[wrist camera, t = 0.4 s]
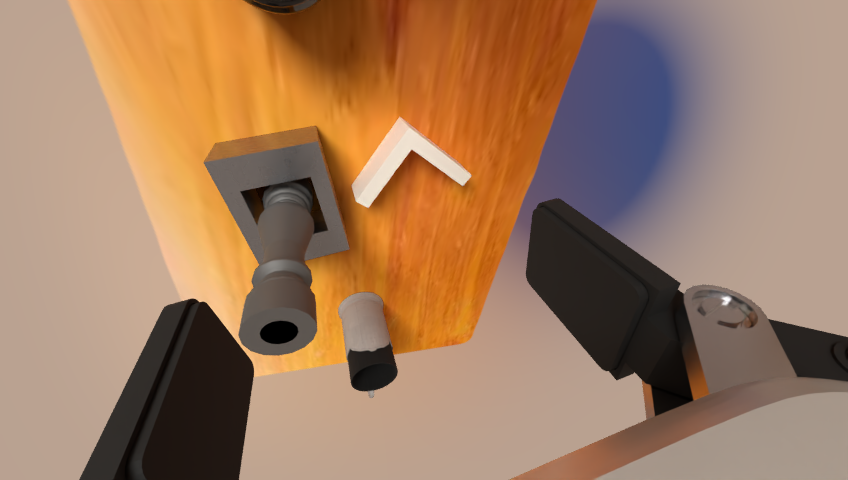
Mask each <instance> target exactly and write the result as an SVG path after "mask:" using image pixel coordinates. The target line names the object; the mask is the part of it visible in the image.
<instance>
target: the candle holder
mask: <svg viewBox="0 0 848 480" xmlns="http://www.w3.org/2000/svg"><path fill="white" fill-rule="evenodd" d="M262 200H263V206H264V211H263V212H262V213H261V214H260V217H259V221H258V225H257V228H258V232H259V235H260V239H261V243H262V246H263V250H264V259H263V262H262V263H261V264H260V265H259V266H258V267H257V268H256V269H255V271H254V274H253V278H252V284H253V287H254V288H253V289H252V290H251V292H250V293H249V294H248V295H247V297H246V301H245V304H244V309H243V314H242V319H241V324H240V330H239V338H240V340H241V343H242V344H243V345H244V346H245V347H246V348H248V349H249V350H250V351H253V352H256V353H259V354H263V355H283V354H288V353H293V352H295V351H297V350H299V349H302V348H304V347H305V346H306V345H308V344H309V343H310V342H311V341H312V340H313V339H314V336H315V334H316V332H317V318H316V301H315V295H314V293H313V292H312V291H311V289H310V286H311V283H312V275H311V270H310V269H309V268H308V267H307V265H306V264H305V253H306V250H307V248H308V245H309V243H310V240H311V238H312V235H313V232H314V222H313V218H312V217H311V215H310V213H311V210H312V206H313V193H312V186H311V184H310V182H309V181H308V179H307V178H303V179H298V180H293V181H288V182H283V183H278V184H273V185H269V186H265V189H264V193H263V198H262Z"/></svg>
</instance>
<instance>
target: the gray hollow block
mask: <svg viewBox="0 0 848 480" xmlns="http://www.w3.org/2000/svg"><path fill="white" fill-rule="evenodd" d="M204 164H205V166H206V168H207V170H208V171H209V173H210V175H211V177H212V179H213V181H214V182H215V184H216V186H217V188H218V190H219V192H220V193H221V195H222V197H223V199H224V201H225V203H226V204H227V206H228V208H229V210H230V212H231V214H232V215H233V217H234V219H235V221H236V223H237V225H238V226H239V228H240V230H241V232H242V234H243V236H244V237H245V239H246V241H247V243H248V245H249V247H250V248H251V250H252V252H253V254H254V256H255V258H256V259H257V261H258V263H259V265H260V264H261V263H262V262H263V259H264V250H263V246H262V243H261V239H260V235H259V232H258V228H257V225H258V221H259V217H260V214H261V213H262V212H263V211H264V206H263V204H262V202H261V200H260V198H259V195H258V193H257V191H256V189H255V188H259V187H264V186H269V185H273V184H278V183H283V182H288V181H293V180H298V179H303V178H308V177H311V180H312V183H313V186H314V189H315V192H316V195H317V198H318V201H319V204H320V207H321V210H317V211H313V212H311V213H310V215H311V217H312V218H313V222H314V232H313V235H312V238H311V240H310V243H309V245H308V248H307V250H306V253H305V260H309V259H313V258H317V257H321V256H325V255H329V254H333V253H337V252H341V251H345V250H349V249H350V248H349V243H348V238H347V233H346V228H345V224H344V220H343V217H342V214H341V210H340V207H339V203H338V200H337V196H336V193H335V189H334V186H333V183H332V179H331V176H330V172H329V169H328V165H327V162H326V158H325V155H324V152H323V148H322V145H321V141H320V138H319V134H318V131H317V127H316V126H312V127H306V128H301V129H295V130H289V131H284V132H278V133H272V134H266V135H261V136H255V137H249V138H244V139H238V140H232V141H226V142H221V143H215V145H214V146H213V148H212V150H211V151H210V153H209V154H208V156H207V158H206V159H205V161H204Z"/></svg>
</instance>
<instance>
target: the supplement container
mask: <svg viewBox="0 0 848 480" xmlns="http://www.w3.org/2000/svg"><path fill="white" fill-rule="evenodd" d="M243 1H245V2H247V3H248V4H250V5H252V6H254V7H256V8H258V9H261V10H263V11H266V12H270V13H274V14H284V15H288V14H296V13H300V12H303V11H306V10H308V9H310V8H311V7H313V6H314V5H316V4H317V3H318V2H319V1H320V0H243Z"/></svg>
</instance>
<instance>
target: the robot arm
mask: <svg viewBox="0 0 848 480" xmlns="http://www.w3.org/2000/svg"><path fill="white" fill-rule="evenodd" d="M526 278H527V281H528V282H529V284H530V285H531V287H532V288H533V289H534V290H535V291H536V292H537V294H538V295H539V296H540V297H541V298H542V300H543V301H544V302H545V303H546V304H547V305H548V307H549V308H550V309H551V310H552V311H553V312H554V314H555V315H556V316H557V317H558V318H559V319H560V321H561V322H562V323H563V324H564V325H565V326H566V328H567V329H568V330H569V331H570V332H571V333H572V335H573V336H574V337H575V338H576V339H577V341H578V342H579V343H580V344H581V345H582V347H583V348H584V349H585V350H586V351H587V352H588V354H589V355H590V356H591V357H592V358H593V360H594V361H595V362H596V363H597V364H598V365H599V366H600V367H601V368H602V369H603V370H605V371H609V372H610V373H611V374H612V375H613V377H614V378H615V379H616V380H619V379H621V378H624V377H626V376H629V375H631V374H633V373H634V372H635V373H636V374H637V375H638V376H639V377H640V378H641V379H642V384H643V393H644V401H645V410H646V418H647V420H645V421H643V422H641V423H638V424H636V425H634V426H632V427H629V428H627V429H625V430H622V431H620V432H618V433H616V434H613V435H611V436H608V437H606V438H604V439H602V440H599V441H597V442H595V443H592V444H590V445H588V446H585V447H583V448H581V449H579V450H576V451H574V452H572V453H569V454H567V455H565V456H563V457H560V458H558V459H555V460H553V461H551V462H549V463H546V464H544V465H542V466H539V467H537V468H535V469H533V470H530V471H528V472H526V473H524V474H521V475H519V476H517V477H514V478H512V479H510V480H848V337H844V336H840V335H836V334H831V333H827V332H822V331H818V330H814V329H809V328H805V327H800V326H796V325H792V324H787V323H783V322H779V321H774V320H770V319H768V318H767V316H766V315H765V314H764V312H763V311H762V310H761V308H760V307H759V306H757V305H756V304H755V303H754V302H752V301H751V300H750V299H748V298H746V297H745V296H742V295H741V294H739V293H737V292H734V291H732V290H729V289H727V288H722V287H718V286H713V285H698V286H693V287H691V288H689V289H687V290H686V292H685V293H684V294H683V293H682V292H680V291H679V290H678V288H679V285H680V283H679V282H678V281H677V280H675V279H674V278H672V277H671V276H669V275H668V274H667V273H665V272H664V271H662V270H661V269H659V268H658V267H657V266H655V265H654V264H652V263H651V262H649V261H648V260H647V259H645V258H644V257H642V256H641V255H639V254H638V253H637V252H635V251H634V250H632V249H631V248H629V247H628V246H627V245H625V244H624V243H622V242H621V241H620V240H618V239H617V238H615V237H614V236H612V235H611V234H610V233H608V232H607V231H605V230H604V229H602V228H601V227H599V226H598V225H597V224H595V223H594V222H592V221H591V220H589V219H588V218H587V217H585V216H584V215H582V214H581V213H580V212H578V211H577V210H575V209H574V208H572V207H571V206H569V205H568V204H567V203H565V202H564V201H562V200H561V199H553V200H549V201H545V202H542V203H539V204H538V206H537V209H535V210H534V211H533V215H532V224H531V233H530V242H529V252H528V259H527V268H526ZM253 377H254V367H253V364H252V361H251V360H250V358H249V357H248V356H247V355H246V353H245V352H244V351H243V349H242V348H241V347H240V345H239V344H238V343H237V342H236V340H235V339H234V338H233V336H232V335H231V334H230V332H229V331H228V330H227V329H226V327H225V326H224V325H223V323H222V322H221V321H220V319H219V318H218V317H217V316H216V314H215V313H214V312H213V310H212V309H211V308H210V307H209V305H208V304H207V303H206V302H199V301H198V300H196V299H188V300H185V301H181V302H178V303H174V304H170V305H167V306H166V307H164V309H163V310H162V312H161V314H160V316H159V318H158V320H157V322H156V324H155V326H154V328H153V331H152V332H151V334H150V337H149V339H148V341H147V343H146V345H145V347H144V349H143V351H142V353H141V355H140V357H139V359H138V361H137V363H136V365H135V368H134V369H133V371H132V373H131V375H130V377H129V379H128V382H127V383H126V386H125V388H124V390H123V392H122V394H121V396H120V398H119V400H118V402H117V404H116V406H115V408H114V410H113V412H112V414H111V416H110V418H109V420H108V422H107V424H106V427H105V428H104V431H103V433H102V435H101V437H100V439H99V441H98V443H97V445H96V447H95V449H94V451H93V453H92V455H91V457H90V459H89V461H88V463H87V465H86V467H85V469H84V471H83V473H82V475H81V477H80V480H239V474H240V467H241V460H242V453H243V446H244V439H245V432H246V425H247V417H248V411H249V404H250V396H251V390H252V384H253Z"/></svg>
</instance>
